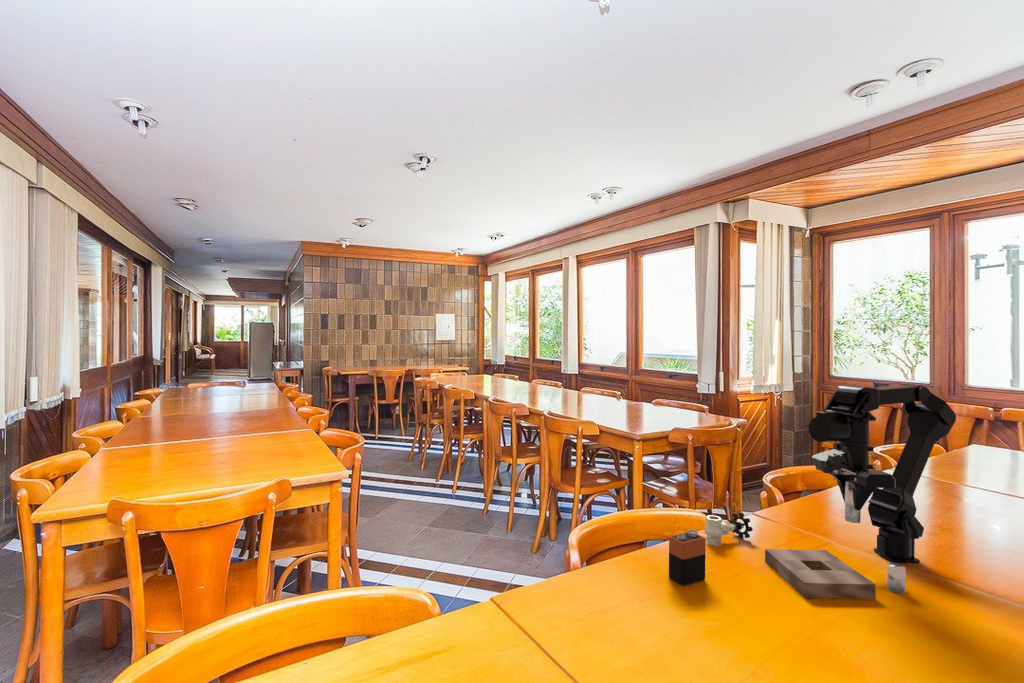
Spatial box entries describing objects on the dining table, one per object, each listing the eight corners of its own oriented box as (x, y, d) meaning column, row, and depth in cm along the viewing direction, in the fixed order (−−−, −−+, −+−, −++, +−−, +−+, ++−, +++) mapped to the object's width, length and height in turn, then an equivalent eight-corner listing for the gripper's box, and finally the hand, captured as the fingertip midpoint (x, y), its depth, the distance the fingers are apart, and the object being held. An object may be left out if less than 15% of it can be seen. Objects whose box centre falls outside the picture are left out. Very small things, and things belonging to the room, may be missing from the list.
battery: (706, 580, 105) (706, 533, 105) (682, 587, 102) (683, 539, 102) (690, 571, 109) (691, 526, 109) (667, 578, 106) (667, 531, 106)
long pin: (854, 518, 115) (855, 480, 115) (863, 523, 112) (864, 483, 112) (841, 518, 115) (842, 479, 115) (850, 523, 112) (850, 483, 112)
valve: (717, 550, 121) (752, 542, 126) (717, 523, 121) (753, 516, 126) (697, 540, 127) (731, 533, 132) (697, 514, 127) (732, 508, 132)
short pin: (897, 586, 103) (898, 562, 103) (908, 593, 100) (909, 569, 100) (883, 586, 104) (883, 562, 103) (894, 593, 101) (894, 569, 100)
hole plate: (825, 563, 114) (826, 550, 114) (875, 599, 98) (875, 584, 98) (764, 561, 114) (765, 549, 114) (804, 597, 98) (804, 582, 98)
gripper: (795, 432, 123) (795, 494, 123) (844, 448, 105) (843, 521, 105) (840, 432, 123) (840, 495, 123) (897, 449, 104) (896, 522, 105)
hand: (852, 507), depth 114 cm, fingers closed on long pin, 3 cm apart
